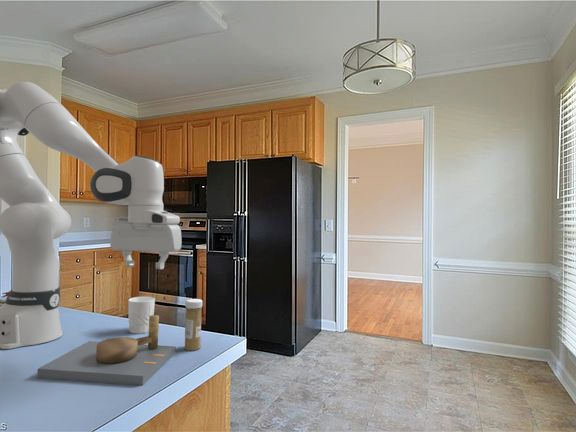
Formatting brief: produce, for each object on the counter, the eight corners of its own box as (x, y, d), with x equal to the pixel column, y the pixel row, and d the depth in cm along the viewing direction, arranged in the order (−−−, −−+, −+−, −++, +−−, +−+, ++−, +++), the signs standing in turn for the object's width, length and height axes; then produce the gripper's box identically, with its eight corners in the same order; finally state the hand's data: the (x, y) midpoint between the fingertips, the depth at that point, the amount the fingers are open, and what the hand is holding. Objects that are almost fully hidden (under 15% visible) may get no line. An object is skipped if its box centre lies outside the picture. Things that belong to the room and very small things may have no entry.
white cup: (159, 328, 114) (160, 298, 114) (141, 336, 107) (143, 303, 107) (139, 325, 117) (140, 295, 117) (121, 332, 109) (122, 300, 110)
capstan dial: (103, 366, 79) (105, 330, 79) (90, 354, 85) (92, 321, 86) (165, 350, 90) (166, 319, 90) (149, 341, 96) (150, 312, 96)
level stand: (37, 377, 77) (37, 368, 77) (88, 348, 95) (89, 340, 95) (142, 385, 76) (143, 375, 76) (174, 354, 94) (175, 346, 94)
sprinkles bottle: (202, 349, 98) (204, 300, 98) (186, 352, 95) (188, 302, 96) (197, 344, 102) (199, 297, 102) (181, 346, 99) (183, 299, 99)
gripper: (105, 215, 95) (103, 267, 94) (171, 217, 89) (170, 271, 89) (122, 216, 101) (120, 264, 100) (185, 217, 95) (184, 268, 95)
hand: (144, 268), depth 95 cm, fingers open, 8 cm apart
